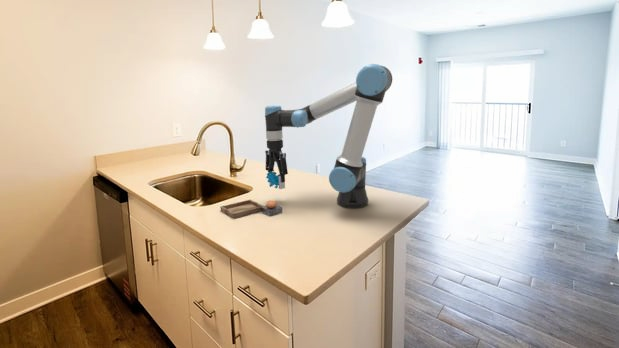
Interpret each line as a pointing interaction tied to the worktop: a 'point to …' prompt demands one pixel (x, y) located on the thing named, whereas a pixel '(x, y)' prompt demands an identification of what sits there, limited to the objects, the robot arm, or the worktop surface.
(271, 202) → the button
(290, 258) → the worktop surface
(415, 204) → the worktop surface
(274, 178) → the gear
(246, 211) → the brown tray
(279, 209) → the block
